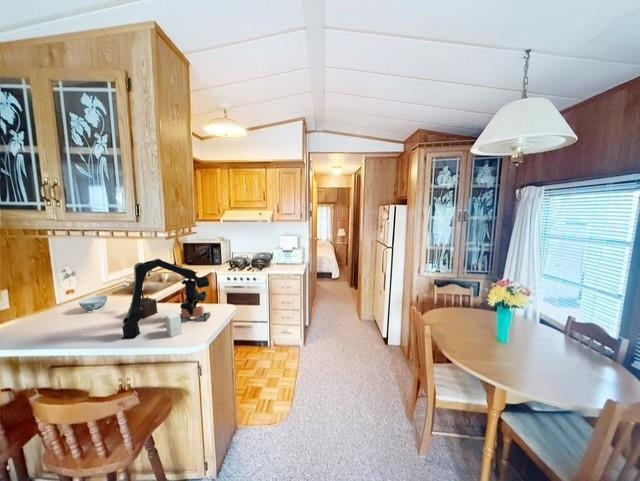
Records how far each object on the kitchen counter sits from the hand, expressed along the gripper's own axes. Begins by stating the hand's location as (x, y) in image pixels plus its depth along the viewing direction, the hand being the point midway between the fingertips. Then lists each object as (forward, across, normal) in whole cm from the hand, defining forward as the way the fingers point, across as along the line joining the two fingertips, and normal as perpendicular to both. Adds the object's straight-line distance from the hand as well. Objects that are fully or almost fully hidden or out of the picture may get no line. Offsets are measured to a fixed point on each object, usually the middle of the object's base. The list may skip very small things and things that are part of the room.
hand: (192, 314), depth 166 cm
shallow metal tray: (+4, 0, 0) cm, 4 cm away
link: (+1, 0, 0) cm, 1 cm away
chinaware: (+4, +27, +75) cm, 80 cm away
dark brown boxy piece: (+4, +14, +37) cm, 40 cm away
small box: (+4, -18, +4) cm, 19 cm away
